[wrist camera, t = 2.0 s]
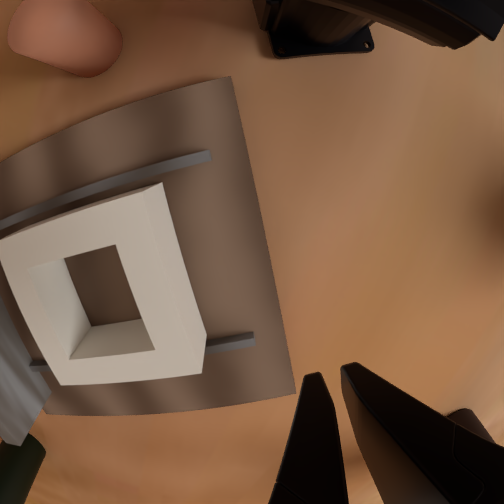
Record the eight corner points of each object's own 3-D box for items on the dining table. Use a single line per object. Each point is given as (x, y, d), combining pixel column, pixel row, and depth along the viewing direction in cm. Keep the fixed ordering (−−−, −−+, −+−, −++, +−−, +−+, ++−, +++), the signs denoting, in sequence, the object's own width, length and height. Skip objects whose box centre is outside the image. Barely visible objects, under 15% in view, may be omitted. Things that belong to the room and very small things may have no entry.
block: (162, 182, 17) (142, 191, 13) (206, 334, 20) (201, 373, 16) (29, 225, 17) (-6, 242, 13) (81, 352, 20) (60, 385, 17)
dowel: (118, 14, 14) (73, -32, 8) (126, 64, 16) (76, 29, 9) (66, 37, 15) (8, 7, 8) (71, 86, 16) (8, 68, 9)
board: (231, 80, 17) (227, 32, 9) (294, 383, 23) (313, 465, 16) (-43, 193, 17) (-111, 217, 9) (50, 406, 24) (20, 464, 16)
